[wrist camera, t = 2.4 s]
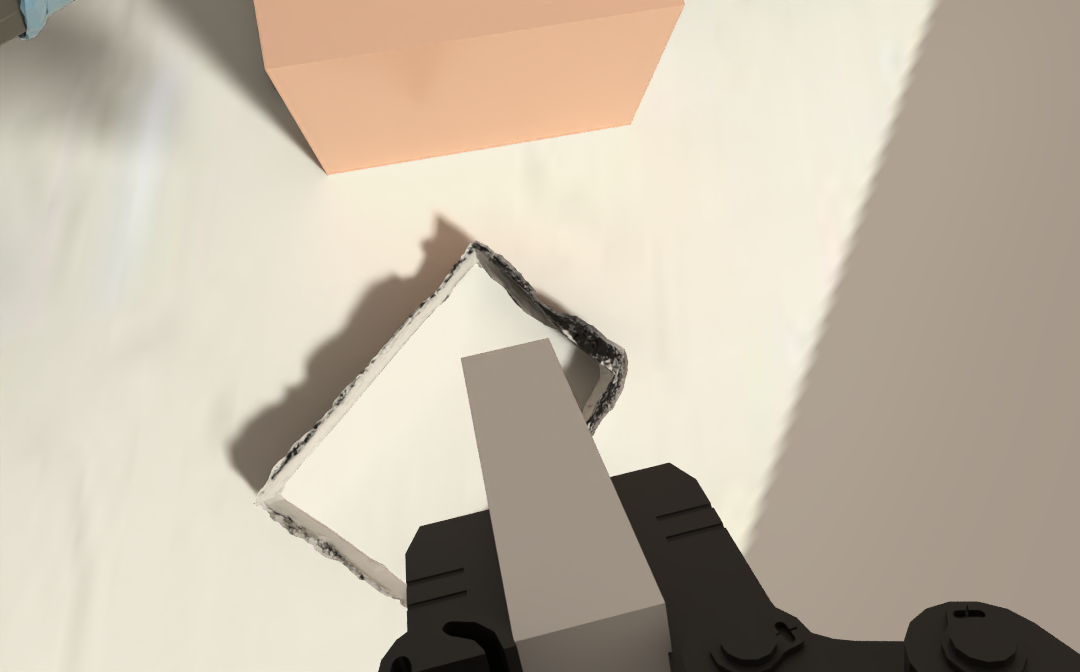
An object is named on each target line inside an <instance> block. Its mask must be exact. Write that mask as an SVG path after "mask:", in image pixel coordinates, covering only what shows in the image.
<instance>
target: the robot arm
mask: <svg viewBox="0 0 1080 672" xmlns="http://www.w3.org/2000/svg"><path fill="white" fill-rule="evenodd" d="M73 1H75V0H0V46H1V45H3V44H5V43H6V42H8V41H10V40H12V39H13V38H15V37H17V36H18V37H19V38H20V39H21V40H29V39H31V38H34V37H36V36H37V35H38V34H39V32H40V31H41V30H42V29H43V28H44V26H45V24H46V22H47V18H48V17H50V16H51V15H53V14H54V13H56V12H58V11H59V10H61V9H62V8H64V7H65V6H67V5H68V4H70V3H72V2H73ZM461 361H462V366H463V372H464V377H465V382H466V388H467V393H468V398H469V404H470V409H471V414H472V420H473V425H474V431H475V436H476V441H477V447H478V452H479V457H480V463H481V468H482V473H483V479H484V484H485V489H486V495H487V500H488V505H489V510H485V511H481V512H477V513H473V514H469V515H464V516H460V517H456V518H452V519H448V520H444V521H440V522H436V523H432V524H428V525H424V526H420V527H419V529H418V531H417V533H416V535H415V537H414V539H413V541H412V542H411V544H410V546H409V548H408V550H407V552H406V554H405V558H406V583H407V587H406V595H407V608H408V611H407V632H406V633H405V634H404V635H402V636H401V637H400V638H398V639H397V640H396V641H395V642H394V644H393V645H392V646H391V648H390V649H389V651H388V652H387V653H386V655H385V656H384V657H383V659H382V660H381V663H380V667H379V671H378V672H1080V654H1079V653H1077V652H1076V651H1074V650H1073V649H1071V648H1070V647H1069V646H1067V645H1065V644H1064V643H1062V642H1061V641H1060V640H1058V639H1057V638H1055V637H1054V636H1053V635H1051V634H1050V633H1048V632H1047V631H1045V630H1044V629H1042V628H1041V627H1040V626H1038V625H1037V624H1035V623H1034V622H1032V621H1030V620H1028V619H1026V618H1024V617H1022V616H1020V615H1018V614H1016V613H1014V612H1012V611H1010V610H1008V609H1005V608H1002V607H998V606H993V605H989V604H985V603H981V602H947V603H944V604H940V605H937V606H934V607H930V608H927V609H925V610H924V611H923V612H922V613H920V614H919V615H918V616H917V617H916V618H914V619H913V620H912V621H911V622H910V624H909V627H908V630H907V633H906V636H905V640H904V641H850V640H840V639H832V638H829V637H825V636H821V635H818V634H814V633H812V632H810V631H809V630H808V629H807V628H806V627H805V626H804V625H803V624H802V623H801V622H800V621H799V620H798V619H797V618H796V617H794V616H792V615H790V614H788V613H786V612H784V611H782V610H780V609H778V608H776V607H775V606H774V605H773V604H772V603H771V601H770V599H769V598H768V596H767V595H766V593H765V591H764V590H763V588H762V586H761V585H760V583H759V581H758V580H757V578H756V577H755V575H754V573H753V572H752V570H751V568H750V567H749V565H748V563H747V562H746V560H745V559H744V557H743V555H742V554H741V552H740V550H739V549H738V547H737V545H736V544H735V542H734V541H733V539H732V537H731V536H730V534H729V532H728V531H727V529H726V528H724V526H723V523H722V521H721V519H720V518H719V516H718V514H717V513H716V511H715V509H714V508H712V507H711V503H710V501H709V500H708V498H707V496H706V495H705V493H704V491H703V490H702V488H701V487H700V485H699V483H698V482H697V480H696V479H695V478H693V477H692V476H690V475H688V474H687V473H685V472H684V471H682V470H680V469H679V468H677V467H676V466H674V465H672V464H671V463H666V464H662V465H658V466H654V467H650V468H646V469H641V470H637V471H633V472H629V473H625V474H621V475H617V476H613V477H609V474H608V472H607V470H606V468H605V465H604V463H603V461H602V458H601V456H600V454H599V452H598V449H597V447H596V445H595V443H594V440H593V438H592V436H591V433H590V431H589V429H588V427H587V424H586V422H585V420H584V418H583V415H582V413H581V411H580V409H579V406H578V404H577V402H576V399H575V397H574V395H573V393H572V390H571V388H570V386H569V384H568V381H567V379H566V377H565V374H564V372H563V370H562V368H561V365H560V363H559V361H558V359H557V356H556V354H555V352H554V349H553V347H552V345H551V343H550V340H549V338H546V339H542V340H538V341H533V342H529V343H525V344H520V345H516V346H511V347H507V348H503V349H498V350H494V351H490V352H485V353H481V354H477V355H472V356H468V357H464V358H461Z"/></svg>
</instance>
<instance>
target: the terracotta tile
mask: <svg viewBox="0 0 1080 672" xmlns="http://www.w3.org/2000/svg"><path fill="white" fill-rule="evenodd" d="M253 1H254V7H255V13H256V19H257V25H258V31H259V37H260V43H261V49H262V55H263V61H264V67H265V71H266V72H267V74H268V76H269V77H270V79H271V81H272V82H273V84H274V86H275V87H276V89H277V91H278V92H279V94H280V96H281V98H282V99H283V101H284V103H285V104H286V106H287V108H288V109H289V111H290V113H291V114H292V116H293V118H294V119H295V121H296V123H297V125H298V126H299V128H300V130H301V131H302V133H303V135H304V136H305V138H306V140H307V141H308V143H309V145H310V146H311V148H312V150H313V152H314V153H315V155H316V157H317V158H318V160H319V162H320V163H321V165H322V167H323V168H324V170H325V172H326V173H327V175H331V174H337V173H343V172H349V171H355V170H361V169H367V168H373V167H379V166H385V165H391V164H397V163H403V162H409V161H415V160H421V159H427V158H433V157H439V156H445V155H451V154H457V153H463V152H469V151H475V150H481V149H487V148H493V147H499V146H505V145H511V144H517V143H523V142H529V141H535V140H541V139H547V138H553V137H559V136H565V135H571V134H577V133H583V132H589V131H595V130H601V129H607V128H613V127H619V126H625V125H630V124H631V122H632V120H633V118H634V116H635V113H636V111H637V109H638V107H639V105H640V102H641V100H642V98H643V96H644V94H645V91H646V89H647V87H648V85H649V82H650V80H651V78H652V76H653V74H654V71H655V69H656V67H657V65H658V63H659V60H660V58H661V56H662V54H663V52H664V49H665V47H666V45H667V43H668V40H669V38H670V36H671V34H672V32H673V29H674V27H675V25H676V23H677V21H678V18H679V16H680V14H681V12H682V10H683V7H684V5H685V4H684V0H253Z"/></svg>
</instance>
